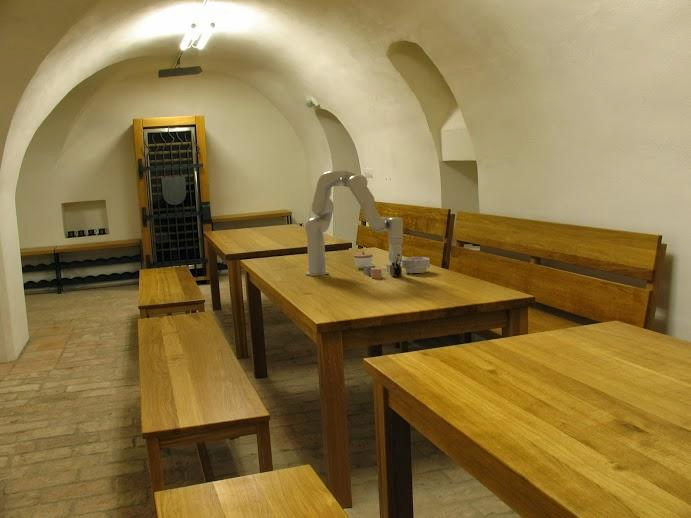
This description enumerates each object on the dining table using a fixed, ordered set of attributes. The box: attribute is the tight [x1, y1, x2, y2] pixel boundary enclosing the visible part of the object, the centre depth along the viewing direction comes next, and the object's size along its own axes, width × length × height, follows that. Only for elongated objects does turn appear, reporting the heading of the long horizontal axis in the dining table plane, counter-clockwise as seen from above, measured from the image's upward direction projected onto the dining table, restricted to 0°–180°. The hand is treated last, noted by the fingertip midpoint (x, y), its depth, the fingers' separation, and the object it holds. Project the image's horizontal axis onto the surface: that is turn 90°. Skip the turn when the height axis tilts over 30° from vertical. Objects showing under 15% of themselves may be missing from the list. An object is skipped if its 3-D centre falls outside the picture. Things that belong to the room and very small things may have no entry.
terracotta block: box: [370, 267, 383, 279], centre depth 377 cm, size 5×5×5 cm
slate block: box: [362, 264, 376, 276], centre depth 387 cm, size 5×5×5 cm
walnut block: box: [389, 265, 403, 277], centre depth 378 cm, size 5×5×5 cm
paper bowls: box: [401, 256, 431, 274], centre depth 388 cm, size 15×15×8 cm
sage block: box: [385, 262, 392, 274], centre depth 390 cm, size 5×5×5 cm
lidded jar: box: [353, 251, 373, 270], centre depth 409 cm, size 11×11×9 cm
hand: (396, 274), depth 378 cm, fingers closed on walnut block, 5 cm apart
